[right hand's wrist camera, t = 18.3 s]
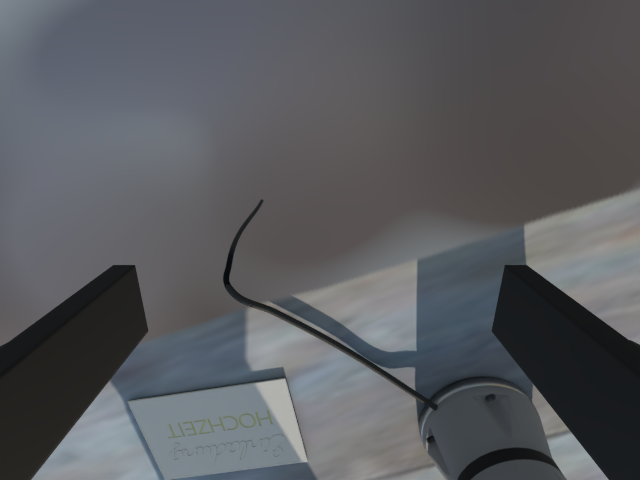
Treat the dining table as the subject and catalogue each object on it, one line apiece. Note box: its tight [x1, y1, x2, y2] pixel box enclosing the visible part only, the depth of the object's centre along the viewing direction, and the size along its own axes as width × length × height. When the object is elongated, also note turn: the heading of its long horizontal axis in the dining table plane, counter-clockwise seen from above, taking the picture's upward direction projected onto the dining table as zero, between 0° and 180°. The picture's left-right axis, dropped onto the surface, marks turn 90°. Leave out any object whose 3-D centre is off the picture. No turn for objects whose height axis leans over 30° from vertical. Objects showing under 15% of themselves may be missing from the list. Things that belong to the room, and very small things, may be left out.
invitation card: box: [128, 378, 308, 480], centre depth 47 cm, size 21×1×15 cm
